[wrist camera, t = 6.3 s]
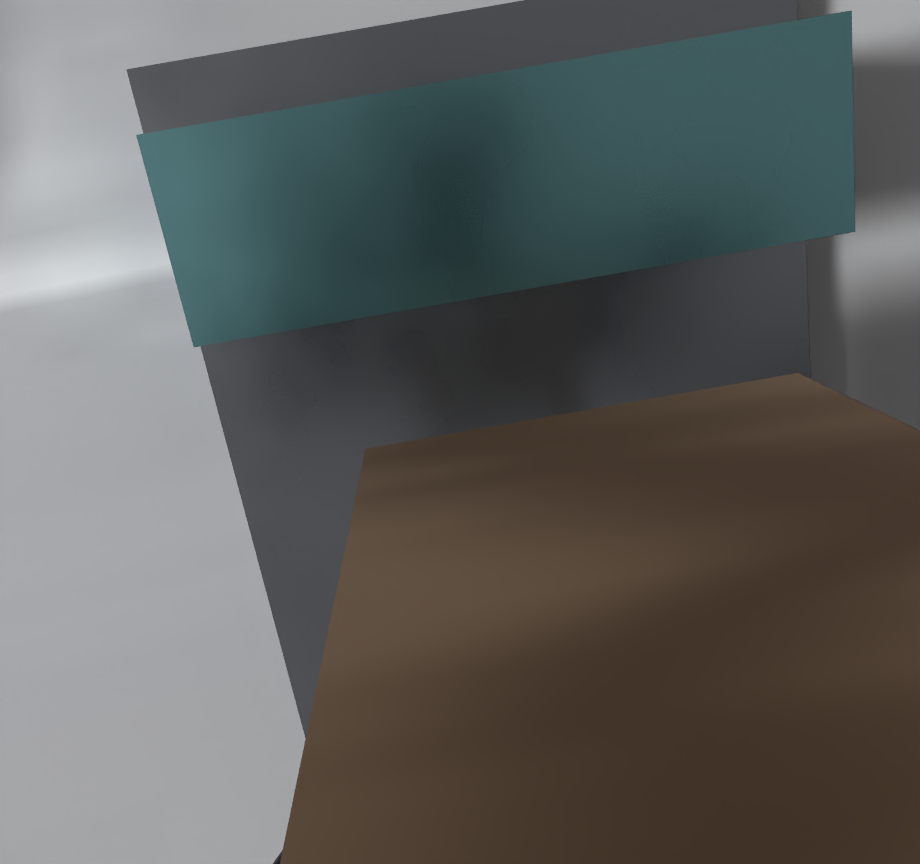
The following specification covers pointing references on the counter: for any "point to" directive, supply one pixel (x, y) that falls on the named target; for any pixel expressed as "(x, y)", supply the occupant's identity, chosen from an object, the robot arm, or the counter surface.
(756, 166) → the vise
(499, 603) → the walnut block
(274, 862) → the robot arm
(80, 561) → the counter surface
